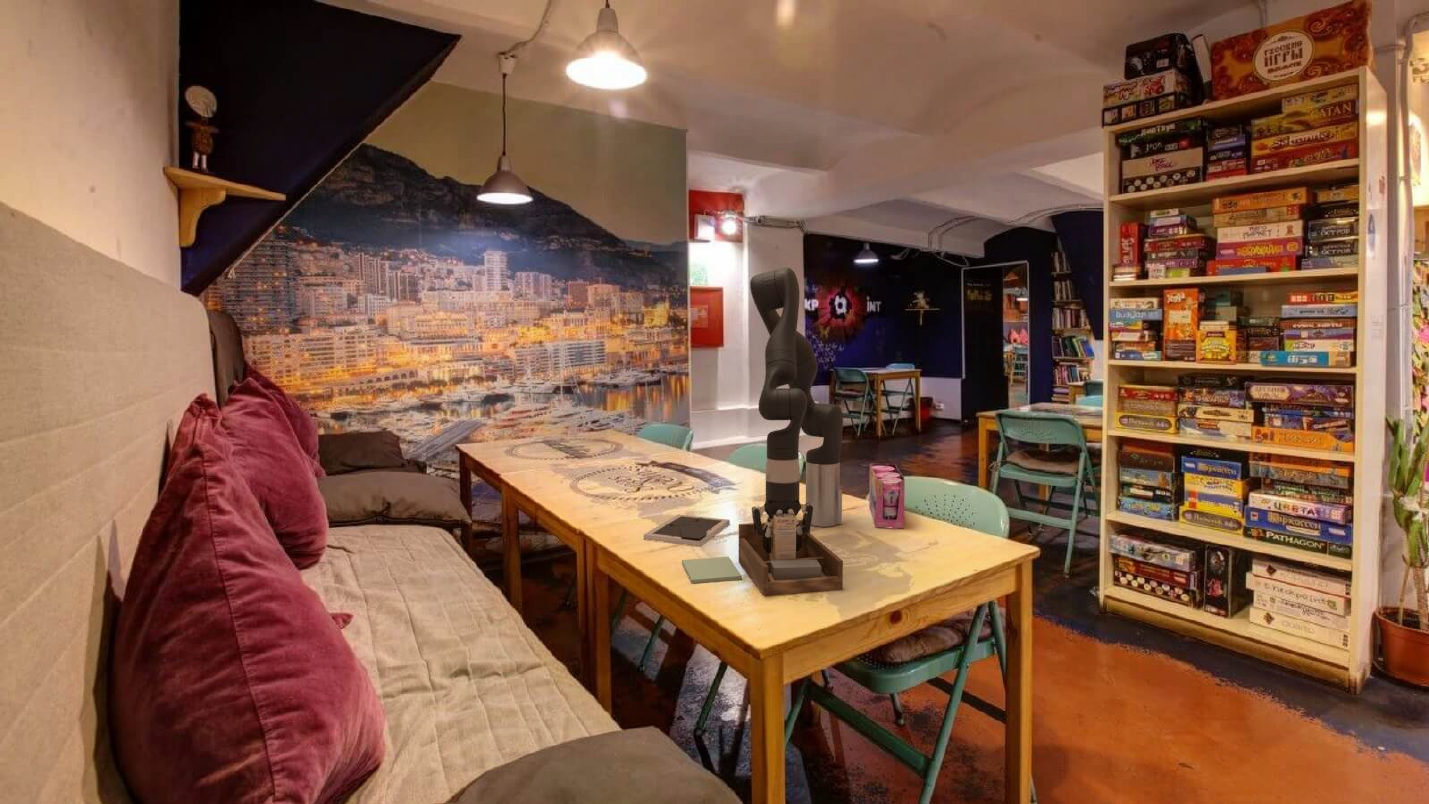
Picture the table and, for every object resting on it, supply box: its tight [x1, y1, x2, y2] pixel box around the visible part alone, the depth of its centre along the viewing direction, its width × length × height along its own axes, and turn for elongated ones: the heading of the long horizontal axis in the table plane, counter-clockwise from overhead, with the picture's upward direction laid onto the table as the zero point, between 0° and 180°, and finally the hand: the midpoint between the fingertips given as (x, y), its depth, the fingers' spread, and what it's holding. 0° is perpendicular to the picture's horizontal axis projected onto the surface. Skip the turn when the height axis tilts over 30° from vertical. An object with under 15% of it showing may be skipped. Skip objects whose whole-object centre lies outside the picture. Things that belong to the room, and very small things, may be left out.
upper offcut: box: [770, 560, 821, 580], centre depth 145 cm, size 10×5×2 cm, turn 94°
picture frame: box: [643, 513, 731, 547], centre depth 184 cm, size 16×3×21 cm
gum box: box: [868, 463, 906, 529], centre depth 195 cm, size 24×8×14 cm, turn 172°
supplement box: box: [770, 513, 797, 561], centre depth 154 cm, size 8×5×13 cm, turn 5°
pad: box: [681, 556, 743, 584], centre depth 154 cm, size 11×13×1 cm
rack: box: [738, 519, 844, 597], centre depth 151 cm, size 17×21×9 cm
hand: (782, 551), depth 155 cm, fingers open, 6 cm apart
